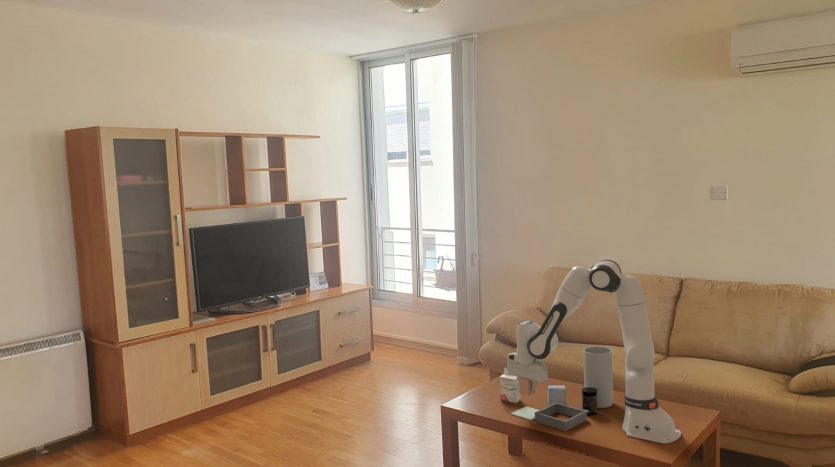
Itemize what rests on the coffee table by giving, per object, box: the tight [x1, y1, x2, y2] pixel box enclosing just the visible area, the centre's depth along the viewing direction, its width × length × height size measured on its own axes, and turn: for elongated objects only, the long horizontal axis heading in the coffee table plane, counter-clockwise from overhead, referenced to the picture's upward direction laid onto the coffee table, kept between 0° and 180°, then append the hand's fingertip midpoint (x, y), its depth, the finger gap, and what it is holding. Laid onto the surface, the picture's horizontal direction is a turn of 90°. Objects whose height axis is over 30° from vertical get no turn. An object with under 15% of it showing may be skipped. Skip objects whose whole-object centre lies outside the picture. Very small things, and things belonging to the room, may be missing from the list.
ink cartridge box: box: [499, 367, 521, 404], centre depth 292 cm, size 9×5×15 cm, turn 58°
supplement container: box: [581, 387, 599, 416], centre depth 272 cm, size 7×7×10 cm
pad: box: [510, 406, 540, 422], centre depth 274 cm, size 11×11×1 cm
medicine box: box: [547, 385, 567, 406], centre depth 283 cm, size 8×4×9 cm, turn 84°
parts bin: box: [534, 403, 588, 432], centre depth 265 cm, size 16×16×4 cm
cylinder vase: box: [583, 346, 614, 409], centre depth 282 cm, size 12×12×25 cm
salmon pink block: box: [519, 377, 537, 396], centre depth 273 cm, size 5×5×7 cm
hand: (527, 387), depth 273 cm, fingers closed on salmon pink block, 5 cm apart
